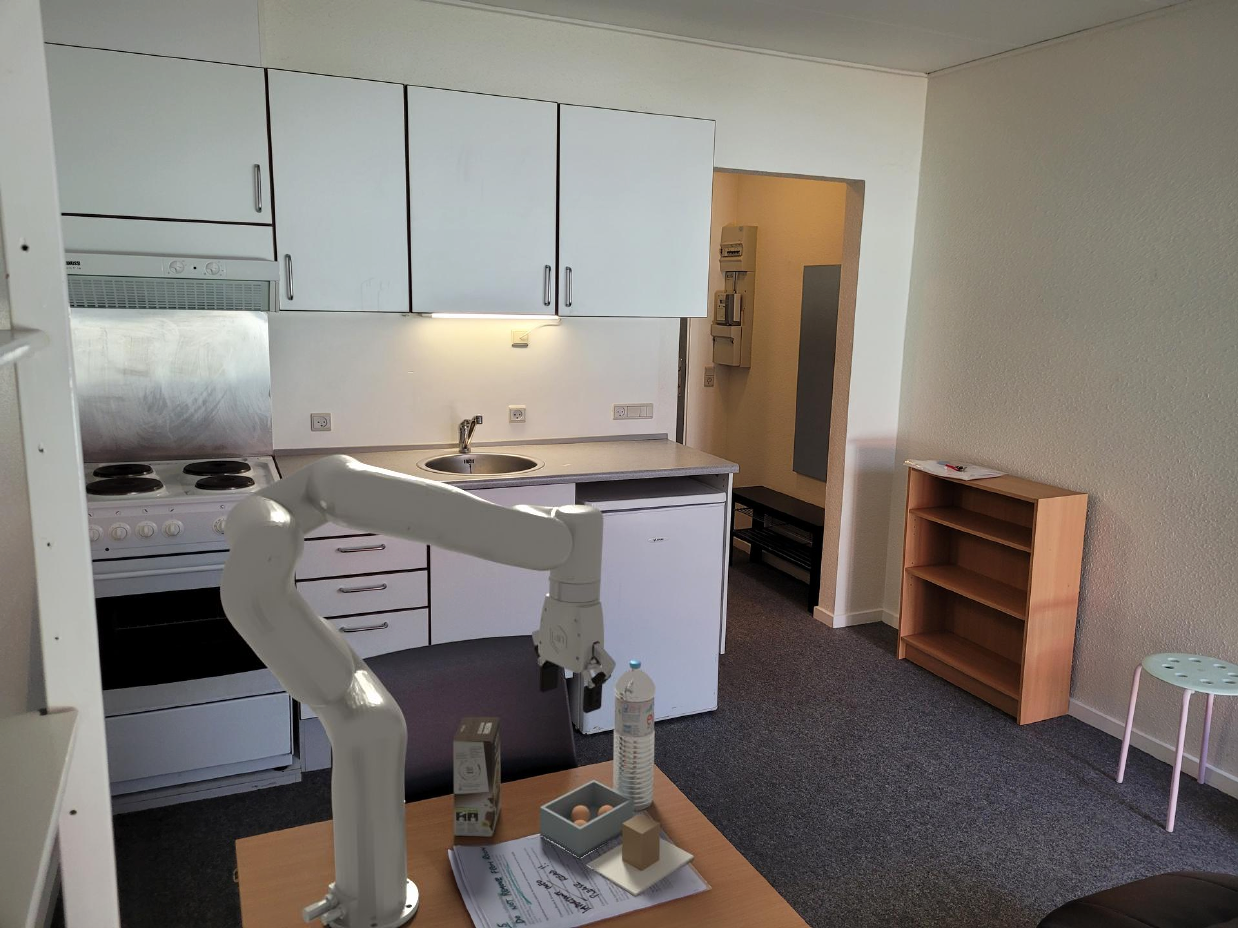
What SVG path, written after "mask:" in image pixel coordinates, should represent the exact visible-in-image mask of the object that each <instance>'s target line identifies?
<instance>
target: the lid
mask: <svg viewBox="0 0 1238 928" xmlns="http://www.w3.org/2000/svg"><path fill="white" fill-rule="evenodd" d="M660 835H661V823H660V822H658V821H656V820H654V819H652V818H651V817H649V816H647V815H646V814H643V813H639V814H637V815H635V816H633V818H631V819H629V820H628V821H626V822H624V823H622V835H621V843H620V844H619V845H617V846H615V847H614V848H612V849H610V850H608V851H607V852H605V853H604V854H602V855H600V856H598V857H597V858H595V859H593V860H592V861H590V862H588V863H587V864H586V866H587V865H588V866H590V867H591V868H593V869H594V870H596V871H598V872H599V873H600V874H602V875H603V876H605V877H606V878H605V877H604V878H605V879H607V878H608V879H609V880H608V879H607V880H608V881H610V882H612V883H614V884H615V885H616V886H618V887H620V888H621V889H623V890H624V891H627V892H628V893H630V894H631V895H633V896H634V897H636V896H638V895H640V894H641V893H642V892H644V891H646V890H647V889H649V888H650V887H652V886H653V885H655V884H656V883H658V882H659V881H662V879H664V878H665V877H667V876H669V875H670V874H672V873H673V872H675V871H676V870H678V869H679V868H681V867H682V866H684V865H685V864H687V863H688V862H690V861H691V860H693V859H695V858H694V856H695V855H694V854H693V855H692V854H691V853H689V852H688V851H685V850H683V849H682V848H680V847H678V846H676V845H674V844H672V843H671V842H668V841H667V840H664V839H663V838H660V837H661V836H660ZM600 874H599V875H600ZM602 875H601V876H602ZM603 876H602V877H603Z"/></svg>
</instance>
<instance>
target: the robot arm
mask: <svg viewBox="0 0 1238 928" xmlns="http://www.w3.org/2000/svg"><path fill="white" fill-rule="evenodd" d="M225 518H226V519H225V521H224V526H223V530H224V531H223V535H224V538H225V541H226V544H227V546H228V548H229V553H228V555H227V558H226V560H225V564H224V566H223V569H222V572H221V577H220V585H219V587H220V588H219V589H220V590H219V592H220V593H219V594H220V600H221V601H220V602H221V605H222V608H223V611H224V614H225V616H226V617H227V619H228V621H229V622H230V623H231V625H232V627H233V628H234V629H235V631H237V633H238V634H239V636H241V637H242V639H243V640H244V641H245V642H246V644H247V645H248V646H249V647H250V648H251V649H252V651H253V652H254V654H255V655H256V656H257V657H258V658H259V659H260V661H262V663H263V664H264V665H265V666H266V668H268V670H269V671H270V672H271V673H272V674H273V676H275V678H276V679H277V680H278V682H279V684H280V685H281V687H282V688H283V690H285V692H286V693H287V695H289V696H290V697H292V698H293V699H294V700H296V701H297V702H299V703H301V704H303V705H306V706H307V707H308V708H309V709H310V710H311V712H312V713H313V714H314V715H315V716H316V717H317V718H318V719H319V722H320V723H321V725H322V726H323V728H324V730H325V733H326V736H327V737H328V739H329V742H330V745H331V750H332V751H331V753H332V773H331V808H332V809H331V810H332V823H333V824H332V826H333V828H332V829H333V844H334V845H333V850H334V851H333V853H334V873H335V875H334V876H335V881H334V882H331V883H329V884H328V893H327V894H325V895H323V897H322V899H321V900H319V901H318V902H313V903H312V904H310V905H307V906H306V907H303V908H302V911H301V915H302V918H303V920H304V922H305V923H306V924H309V923H312V922H313V921H315V920H316V919H319V918H320V920H321V921H320V922H321V924H322V925H323V926H327V925H329V927H331V928H399V927H401V926H402V925H404V924H405V923H406V922H408V921H409V920H410V919H411V918H412V917H413V916H414V915H415V913H416V911H417V910H418V907H419V904H420V893H419V889H418V887H417V885H416V884H415V883H414V882H413V881H412V880H411V879H409V878H408V871H407V870H408V869H407V868H408V866H407V865H408V864H407V863H408V862H407V838H406V837H407V834H406V833H407V832H406V800H405V796H406V795H405V767H406V766H405V763H406V754H407V746H408V745H407V744H408V729H407V727H408V726H407V723H406V720H405V717H404V714H403V712H402V710H401V708H400V706H399V704H398V703H397V701H396V700H395V699H394V697H393V695H391V693H390V692H389V691H388V689H386V687H385V686H384V684H383V683H382V681H381V680H380V679H379V678H378V676H377V675H376V674H375V673H374V672H373V670H372V669H371V668H370V667H369V666H368V665H367V663H366V662H365V661H364V660H363V659H362V657H361V656H360V655H359V654H358V653H357V651H356V650H355V649H354V648H353V647H352V645H351V644H350V643H349V642H348V640H346V638H345V637H344V636H343V635H342V633H341V632H340V631H339V629H338V628H337V627H335V625H334V624H333V623H332V622H331V621H329V620H328V619H326V618H324V617H322V616H320V615H318V614H317V613H316V612H315V611H314V610H313V607H311V606H310V604H309V602H308V601H307V600H306V599H305V598H304V597H303V595H302V594H301V593H300V591H298V589H297V587H296V584H295V583H296V582H295V577H296V576H295V575H296V571H297V568H298V567H299V564H300V561H301V559H302V556H303V553H304V551H305V550H304V549H305V536H307V535H308V534H310V533H312V532H314V531H316V530H318V529H319V528H321V527H323V526H325V525H327V524H328V523H329V522H330V523H332V524H334V525H335V526H338V527H342V528H345V529H349V530H354V531H358V532H364V533H368V534H373V535H374V534H375V535H379V536H383V537H388V538H389V537H390V538H395V539H399V540H405V541H408V542H414V543H419V544H424V545H428V546H432V547H434V548H435V547H436V548H437V549H438V548H439V549H441V550H444V551H449V552H453V553H456V554H457V553H458V554H463V555H466V556H470V557H474V558H478V559H481V560H483V561H484V560H485V561H487V562H488V561H490V562H492V563H496V564H501V565H505V566H510V567H516V568H521V569H525V570H531V571H536V572H537V571H538V572H548V571H549V577H548V583H549V584H548V585H549V586H548V588H549V590H548V591H549V592H548V593H546V595H545V598H544V601H543V604H542V609H541V613H540V614H541V615H540V620H539V629H537V630H535V631H532V633H531V636H532V641H533V645H534V652H535V653H536V656H537V665H539V666H540V669H539V691H540V692H541V693H546V692H550V691H553V690H556V689H557V688H558V685H559V669H560V668H563V669H566V670H568V671H570V672H573V673H576V674H579V673H581V674H582V677H583V679H584V681H585V684H586V685H585V686H583V697H582V698H583V699H582V712H583V713H585V714H588V713H589V714H590V713H592V712H595V711H598V710H600V709H601V707H602V698H603V697H602V696H603V685H605V684H606V683H607V681H608V680H609V679H610V678H611V677H612V674H613V673H614V670H615V668H616V664H617V663H616V661H615V660H614V659H613V658H612V656H611V655H610V654H609V653H608V652H607V651H606V649H605V627H604V625H605V624H604V613H603V606H602V601H600V598H601V579H602V562H603V543H604V542H603V541H604V537H603V536H604V515H603V513H602V511H601V510H599V508H596V507H595V506H590V505H585V504H583V505H582V504H567V505H566V504H565V505H562V506H558V507H557V506H555V507H554V506H543V505H533V504H516V505H512V506H510V507H508V506H504V505H500V504H497V503H494V502H491V501H489V500H485V499H483V498H481V497H478V496H476V495H474V494H472V493H470V492H467V491H465V490H463V489H461V488H458V487H456V486H453V485H450V484H447V483H445V482H440V481H437V480H432V479H427V478H423V477H417V476H413V475H409V474H406V473H401V472H396V471H393V470H389V469H387V468H386V469H385V468H382V467H377V466H373V465H369V464H365V463H362V462H361V461H359V460H357V459H356V458H354V457H351V456H349V455H346V454H332V455H328V456H324V457H322V458H320V459H318V460H315V461H313V462H311V463H310V464H307V465H305V466H303V467H301V468H300V469H298V470H296V471H294V472H292V473H290V474H288V475H286V476H283V477H282V478H280V479H278V480H276V481H275V482H273V483H270V484H269V485H267V486H264V487H262V488H260V489H259V490H256V491H254V492H253V493H251V494H249V495H247V496H245V497H244V498H242V499H241V500H239V501H238V502H237V503H236V504H235V505H234V506H233V507H232V508H231V510H230V511H229V512H228V514H227V517H225ZM559 667H560V668H559ZM591 671H593V673H594V676H593V675H592V673H591Z"/></svg>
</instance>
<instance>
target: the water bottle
mask: <svg viewBox="0 0 1238 928" xmlns="http://www.w3.org/2000/svg"><path fill="white" fill-rule="evenodd" d="M641 667H642V662H641V661H640V660H639V659H632V660H629V668H630V669H628V670H627V671H625V672H623V673H622V674H621V675H620V676H619V677H618V678H617V680H616V682H615V684H614V687H613V690H614V691H613V692H614V727H613V762H612V763H613V767H612V768H613V772H612V774H613V775H612V776H613V778H612V779H613V781H612V784H613V785H612V789H613V790H615V791H618V792H620V793H622V794H624V795H626V796H628V797H630V798H632V799H634V812H637V811H643V810H645V809H647V808H649V807H650V806H651V805H652V804H653V801H654V800H653V799H654V775H655V773H654V772H655V771H654V770H655V767H654V765H655V696H656V685H655V682H654V681H653V679H652V678H651V677H650V676H649V675H648V673H646V672H645V671H643V670H642V668H641Z"/></svg>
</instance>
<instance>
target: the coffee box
mask: <svg viewBox="0 0 1238 928" xmlns="http://www.w3.org/2000/svg"><path fill="white" fill-rule="evenodd" d="M500 720H501V718H500V716H499V717H497V716H476V717H472V716H471V717H469V716H468V717H467V716H463V717H462V718H461V721H460V723H459V726H458V728H457V730H456V732H455V735H454V737H453V741H452V746H453V747H452V749H453V754H452V755H453V756H452V757H453V761H452V762H453V764H452V765H453V769H452V770H453V818H454V820H453V821H454V822H453V825H454V827H453V835H454V836H467V837H493V835H494V831H495V829H496V825H497V823H498V822H497V821H498V818H499V814H500V812H501V807H502V801H501V800H502V799H501V798H502V797H501V796H502V795H501V787H502V786H501V783H502V782H501V735H500V734H501V724H500V723H501V721H500Z"/></svg>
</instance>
